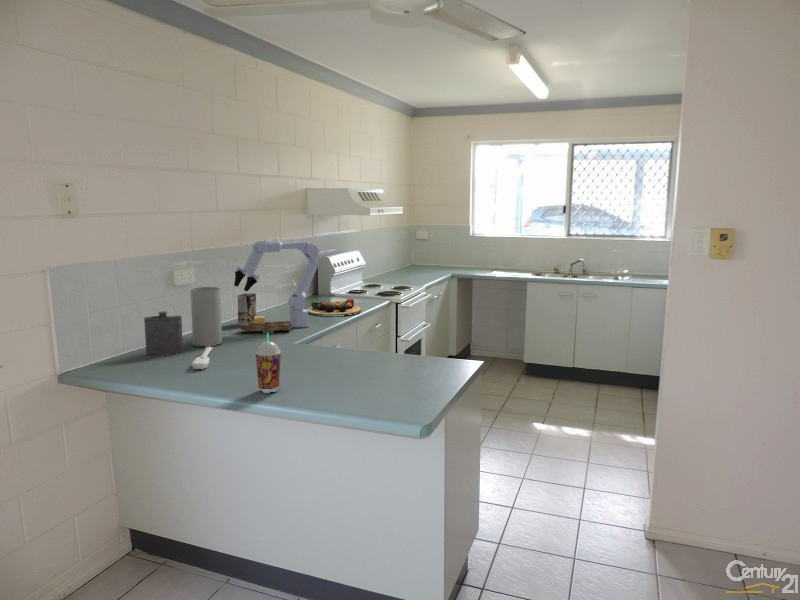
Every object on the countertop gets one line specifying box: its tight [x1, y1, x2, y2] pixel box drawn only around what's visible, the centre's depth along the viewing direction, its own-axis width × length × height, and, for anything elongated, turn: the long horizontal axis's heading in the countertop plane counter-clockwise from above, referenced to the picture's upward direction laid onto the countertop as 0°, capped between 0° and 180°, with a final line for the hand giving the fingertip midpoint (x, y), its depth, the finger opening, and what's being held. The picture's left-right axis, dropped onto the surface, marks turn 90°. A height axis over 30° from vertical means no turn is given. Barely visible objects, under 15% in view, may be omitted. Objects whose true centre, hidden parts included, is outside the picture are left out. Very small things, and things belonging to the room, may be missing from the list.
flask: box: [143, 310, 184, 356], centre depth 243 cm, size 4×14×18 cm, turn 108°
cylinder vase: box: [190, 286, 223, 347], centre depth 261 cm, size 12×12×25 cm
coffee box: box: [237, 292, 257, 327], centre depth 305 cm, size 9×6×16 cm
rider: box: [254, 315, 266, 324], centre depth 289 cm, size 5×5×5 cm
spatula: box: [191, 346, 214, 370], centre depth 234 cm, size 28×6×3 cm, turn 9°
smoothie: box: [255, 333, 282, 389], centre depth 197 cm, size 8×8×20 cm
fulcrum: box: [262, 330, 274, 335], centre depth 290 cm, size 5×9×2 cm, turn 14°
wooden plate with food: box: [307, 297, 362, 315], centre depth 347 cm, size 32×32×8 cm
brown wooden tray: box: [240, 320, 292, 332], centre depth 290 cm, size 24×8×3 cm, turn 104°
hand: (240, 288), depth 289 cm, fingers open, 7 cm apart
